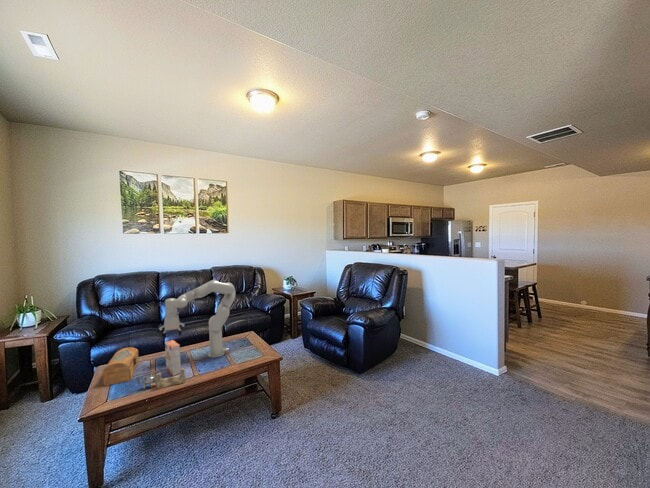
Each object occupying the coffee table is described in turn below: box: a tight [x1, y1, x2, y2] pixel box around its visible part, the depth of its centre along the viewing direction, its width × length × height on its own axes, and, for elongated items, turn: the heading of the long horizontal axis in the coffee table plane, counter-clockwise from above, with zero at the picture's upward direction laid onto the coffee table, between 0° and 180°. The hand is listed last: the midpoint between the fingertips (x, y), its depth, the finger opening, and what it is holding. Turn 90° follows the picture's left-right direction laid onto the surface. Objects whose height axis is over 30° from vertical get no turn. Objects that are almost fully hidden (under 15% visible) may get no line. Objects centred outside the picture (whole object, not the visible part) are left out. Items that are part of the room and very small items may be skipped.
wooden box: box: [102, 346, 139, 386], centre depth 198 cm, size 30×16×14 cm, turn 24°
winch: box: [136, 373, 158, 390], centre depth 179 cm, size 11×4×8 cm, turn 115°
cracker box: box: [164, 339, 182, 377], centre depth 199 cm, size 14×6×21 cm, turn 46°
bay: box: [156, 367, 186, 390], centre depth 185 cm, size 16×10×9 cm, turn 115°
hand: (172, 336), depth 213 cm, fingers open, 9 cm apart
